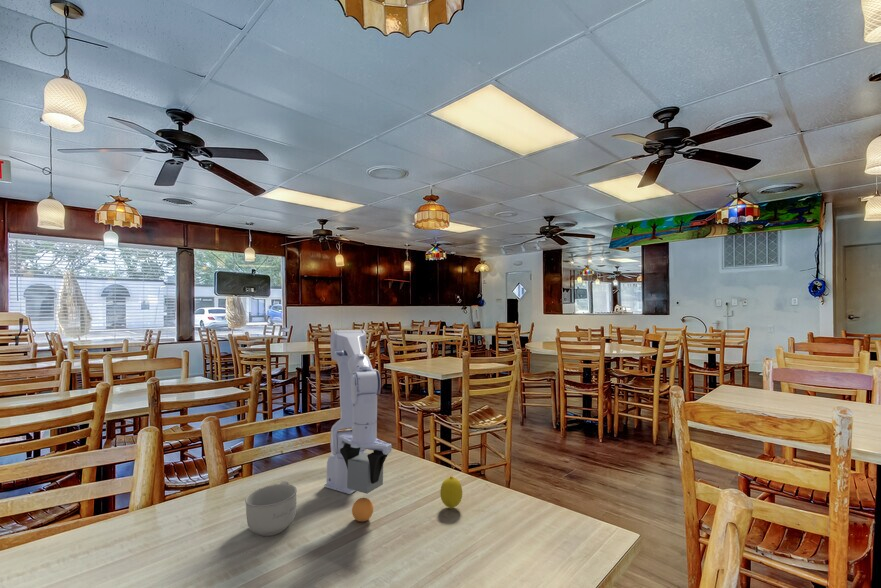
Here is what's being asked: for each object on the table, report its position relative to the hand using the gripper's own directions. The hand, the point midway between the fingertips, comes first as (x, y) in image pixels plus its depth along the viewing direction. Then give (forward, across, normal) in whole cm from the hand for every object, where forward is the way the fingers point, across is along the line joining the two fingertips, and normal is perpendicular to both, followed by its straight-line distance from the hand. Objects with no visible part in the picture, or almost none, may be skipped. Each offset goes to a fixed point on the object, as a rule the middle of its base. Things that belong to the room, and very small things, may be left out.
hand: (363, 479), depth 97 cm
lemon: (+10, +16, +15) cm, 24 cm away
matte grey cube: (+2, 0, +1) cm, 2 cm away
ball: (+7, 0, 0) cm, 7 cm away
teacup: (+10, -16, -12) cm, 22 cm away
